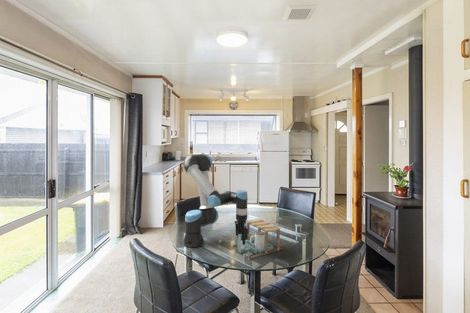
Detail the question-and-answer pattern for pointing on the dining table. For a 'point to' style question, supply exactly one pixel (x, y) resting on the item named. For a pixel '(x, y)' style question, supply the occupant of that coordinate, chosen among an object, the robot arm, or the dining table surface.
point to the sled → (249, 247)
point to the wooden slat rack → (266, 228)
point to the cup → (258, 240)
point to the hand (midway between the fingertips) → (241, 247)
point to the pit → (275, 242)
